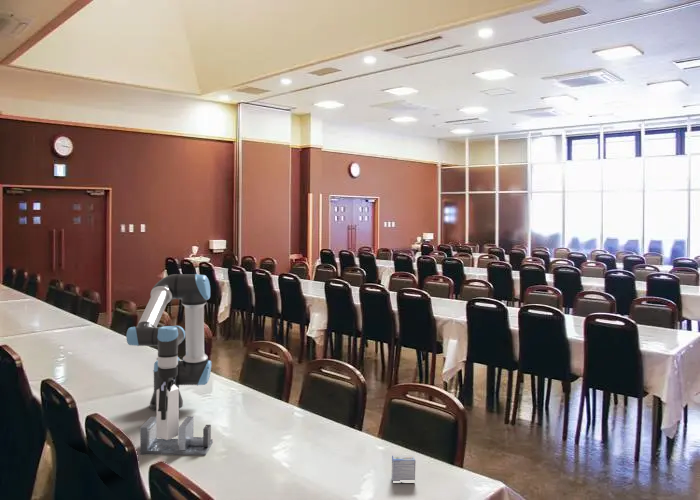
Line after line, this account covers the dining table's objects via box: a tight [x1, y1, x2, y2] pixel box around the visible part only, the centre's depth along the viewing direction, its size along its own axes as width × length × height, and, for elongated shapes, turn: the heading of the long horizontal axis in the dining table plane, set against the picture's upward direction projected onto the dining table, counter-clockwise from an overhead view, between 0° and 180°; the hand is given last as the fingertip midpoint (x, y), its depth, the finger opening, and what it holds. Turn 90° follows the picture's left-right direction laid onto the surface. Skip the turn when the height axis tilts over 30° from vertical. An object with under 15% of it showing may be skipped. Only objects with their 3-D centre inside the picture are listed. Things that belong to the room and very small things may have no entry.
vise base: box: [139, 416, 214, 456], centre depth 225 cm, size 12×25×10 cm, turn 91°
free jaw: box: [177, 415, 212, 450], centre depth 225 cm, size 12×11×9 cm
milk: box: [156, 384, 180, 440], centre depth 224 cm, size 6×6×22 cm
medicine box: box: [391, 454, 417, 481], centre depth 201 cm, size 8×4×9 cm, turn 92°
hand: (167, 423), depth 225 cm, fingers closed on milk, 8 cm apart
